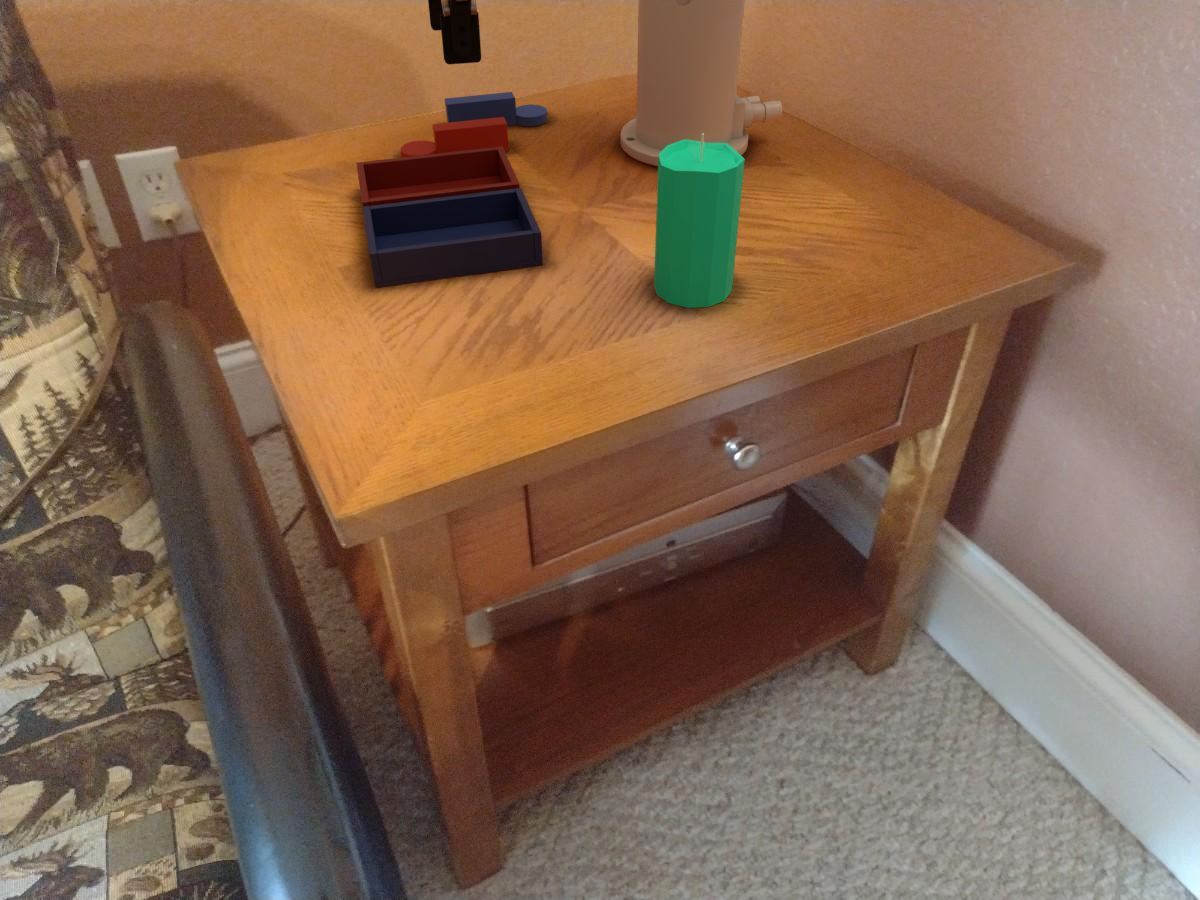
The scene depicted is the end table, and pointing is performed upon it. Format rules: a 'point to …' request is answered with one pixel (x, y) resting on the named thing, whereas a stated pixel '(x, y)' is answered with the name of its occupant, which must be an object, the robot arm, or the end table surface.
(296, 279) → the end table surface
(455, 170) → the maroon bin
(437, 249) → the navy bin
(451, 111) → the blue spoon
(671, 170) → the candle
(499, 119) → the red spoon
